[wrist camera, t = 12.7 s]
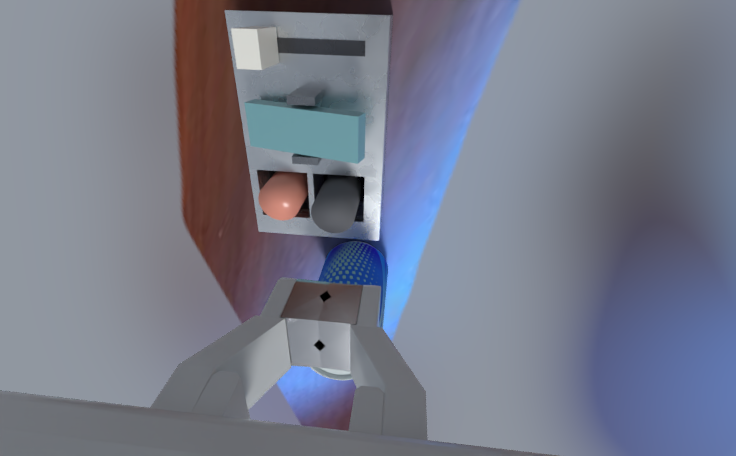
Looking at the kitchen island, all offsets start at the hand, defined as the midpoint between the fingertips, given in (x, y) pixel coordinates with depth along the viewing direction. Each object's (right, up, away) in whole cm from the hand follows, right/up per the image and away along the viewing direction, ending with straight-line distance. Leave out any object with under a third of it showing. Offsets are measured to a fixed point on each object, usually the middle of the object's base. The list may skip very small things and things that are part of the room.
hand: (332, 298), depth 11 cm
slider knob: (-8, +18, +21) cm, 28 cm away
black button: (-2, +7, +30) cm, 31 cm away
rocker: (-5, +11, +21) cm, 24 cm away
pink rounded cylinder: (-8, +8, +32) cm, 34 cm away
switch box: (-4, +13, +29) cm, 32 cm away
